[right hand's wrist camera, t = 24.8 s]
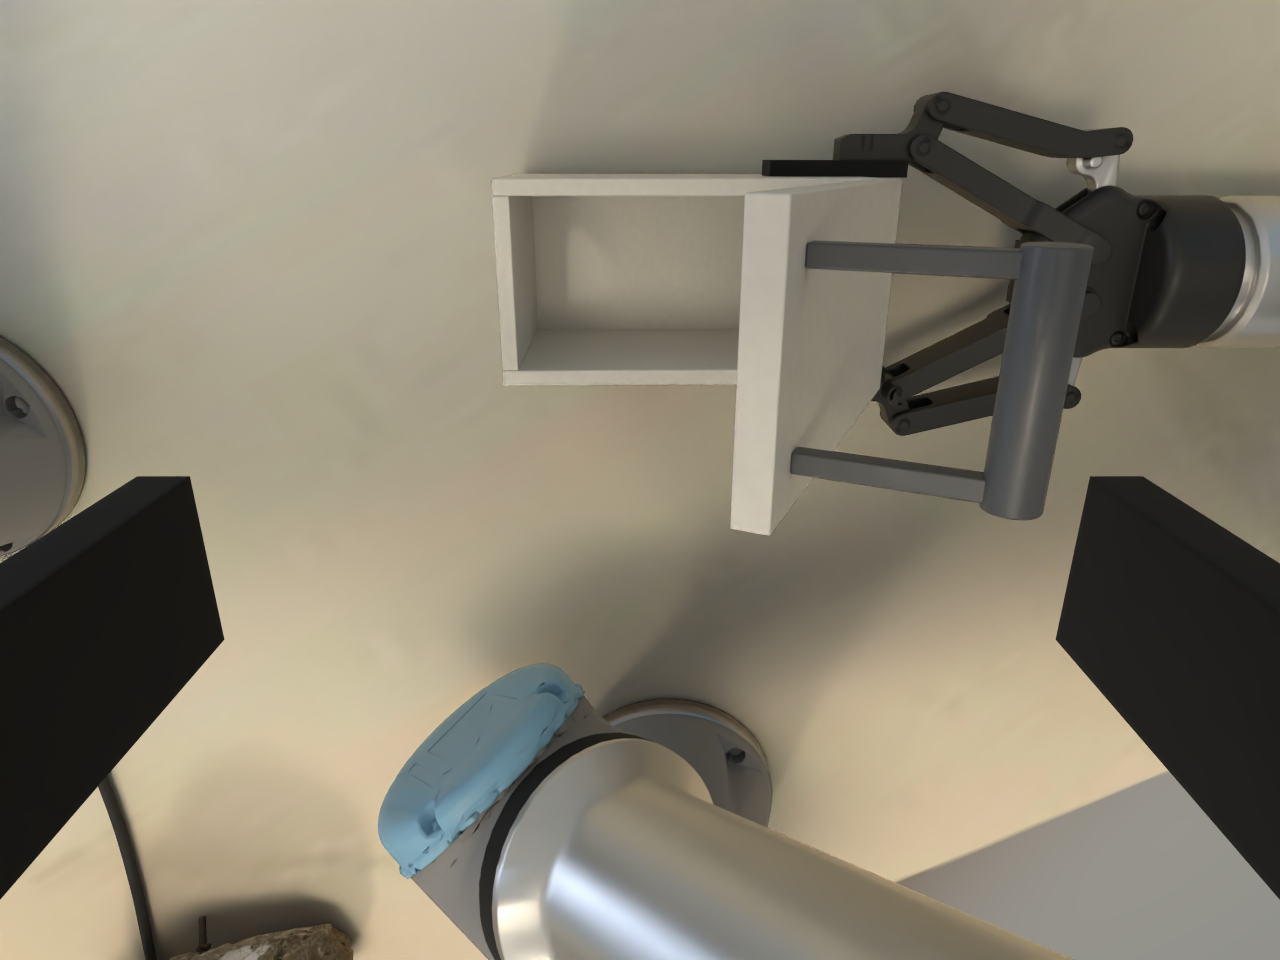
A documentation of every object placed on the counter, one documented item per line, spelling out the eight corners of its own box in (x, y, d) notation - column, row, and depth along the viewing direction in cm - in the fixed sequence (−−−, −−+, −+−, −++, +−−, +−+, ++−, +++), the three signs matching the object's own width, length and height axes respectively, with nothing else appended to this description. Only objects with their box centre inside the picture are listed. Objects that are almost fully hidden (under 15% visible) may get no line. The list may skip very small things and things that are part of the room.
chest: (526, 339, 49) (503, 386, 39) (518, 173, 46) (490, 178, 36) (813, 338, 50) (862, 384, 40) (826, 173, 46) (883, 178, 36)
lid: (729, 529, 24) (1033, 585, 21) (744, 192, 21) (1109, 198, 18) (853, 386, 39) (1041, 406, 36) (873, 178, 36) (1082, 180, 33)
